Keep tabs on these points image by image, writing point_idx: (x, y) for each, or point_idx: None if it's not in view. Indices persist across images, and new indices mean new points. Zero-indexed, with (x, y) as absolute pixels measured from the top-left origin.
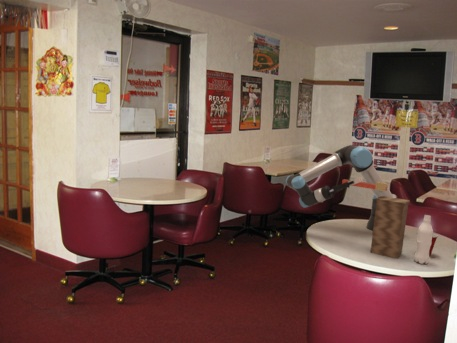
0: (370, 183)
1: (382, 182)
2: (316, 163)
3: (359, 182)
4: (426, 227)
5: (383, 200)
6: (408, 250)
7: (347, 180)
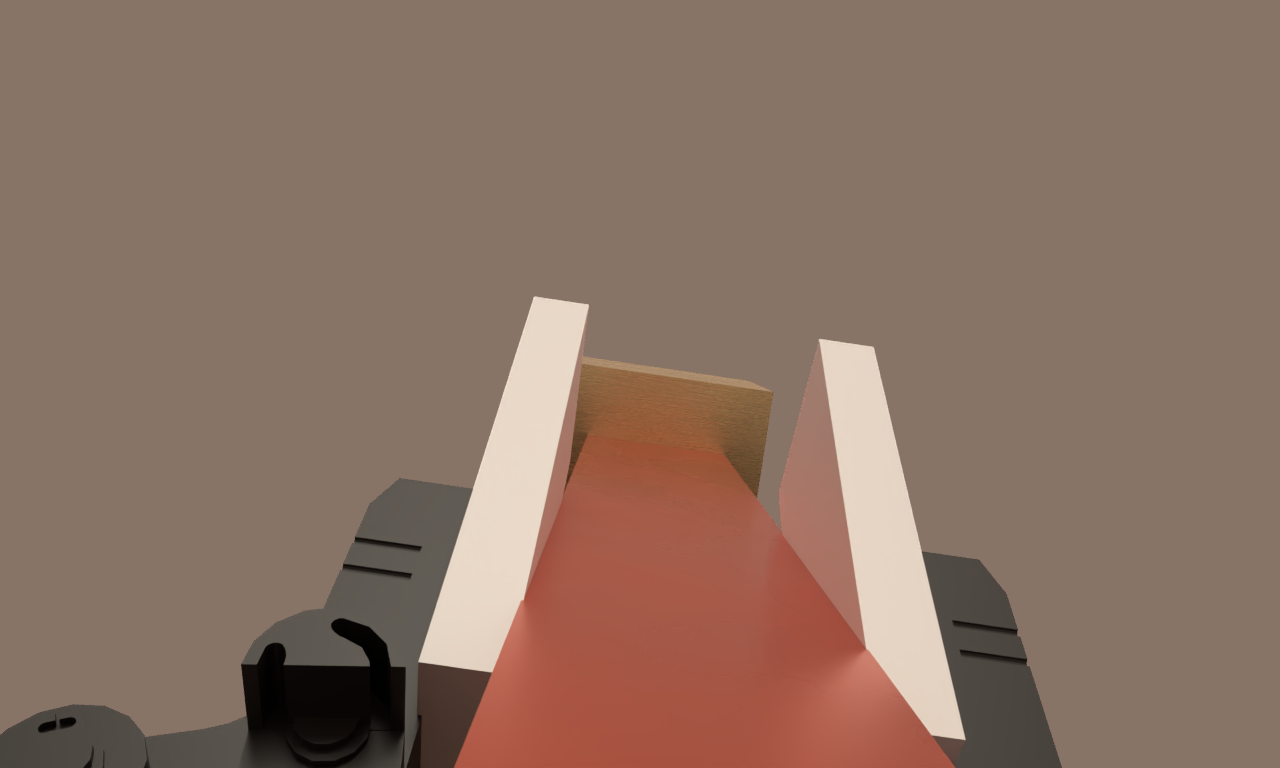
0: (604, 459)
1: (631, 366)
2: None
3: (771, 531)
4: None
5: None
6: None
7: (857, 697)
